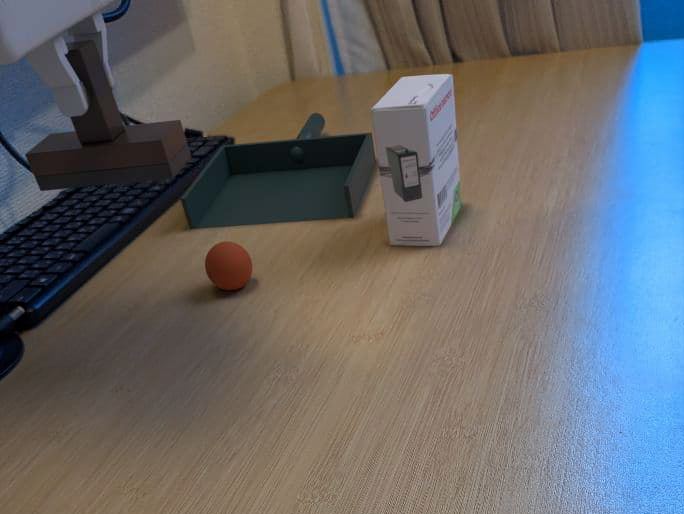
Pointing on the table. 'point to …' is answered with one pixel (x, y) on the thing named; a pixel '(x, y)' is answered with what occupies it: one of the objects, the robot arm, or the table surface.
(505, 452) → the table surface
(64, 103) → the robot arm
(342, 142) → the dustpan
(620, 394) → the table surface
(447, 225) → the ink box
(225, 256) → the ball
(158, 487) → the table surface
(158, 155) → the brush
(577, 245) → the table surface
